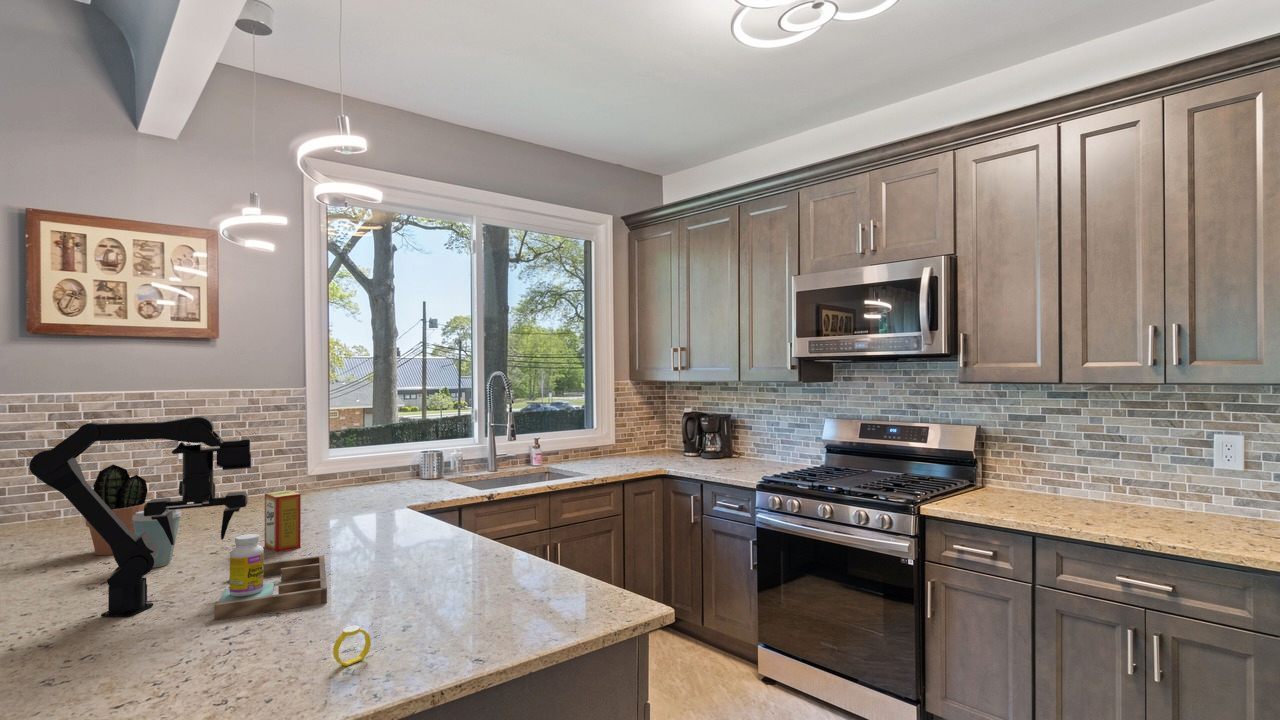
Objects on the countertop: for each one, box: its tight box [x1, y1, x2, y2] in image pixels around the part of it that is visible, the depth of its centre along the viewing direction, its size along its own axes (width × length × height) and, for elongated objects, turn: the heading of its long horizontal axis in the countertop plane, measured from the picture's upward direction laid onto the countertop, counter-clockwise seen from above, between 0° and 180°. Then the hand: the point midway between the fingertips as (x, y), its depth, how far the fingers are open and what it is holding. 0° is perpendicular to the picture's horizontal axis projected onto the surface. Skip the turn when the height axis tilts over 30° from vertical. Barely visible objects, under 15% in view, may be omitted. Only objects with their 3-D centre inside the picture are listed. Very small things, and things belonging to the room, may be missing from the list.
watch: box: [332, 625, 372, 667], centre depth 111 cm, size 6×3×6 cm, turn 139°
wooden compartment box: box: [213, 555, 328, 621], centre depth 150 cm, size 21×30×3 cm
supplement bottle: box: [228, 533, 265, 597], centre depth 147 cm, size 7×7×13 cm
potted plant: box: [85, 463, 148, 556], centre depth 186 cm, size 14×14×25 cm
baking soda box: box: [264, 489, 302, 553], centre depth 188 cm, size 10×6×16 cm
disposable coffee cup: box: [132, 509, 183, 569], centre depth 171 cm, size 11×11×15 cm
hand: (198, 542), depth 144 cm, fingers open, 9 cm apart
